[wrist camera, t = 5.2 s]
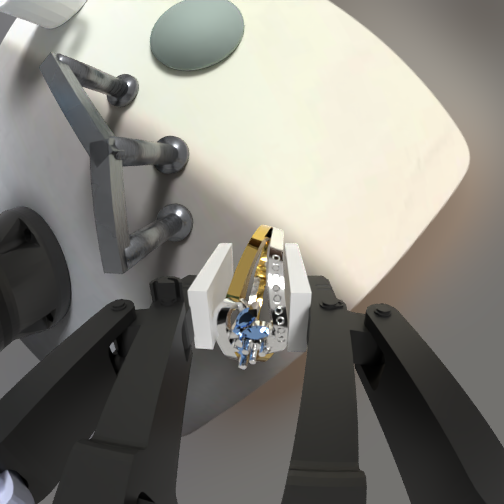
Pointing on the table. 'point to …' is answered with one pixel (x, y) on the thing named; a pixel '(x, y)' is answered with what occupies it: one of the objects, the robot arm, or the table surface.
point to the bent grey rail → (116, 161)
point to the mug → (42, 10)
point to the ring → (255, 303)
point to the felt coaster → (197, 34)
